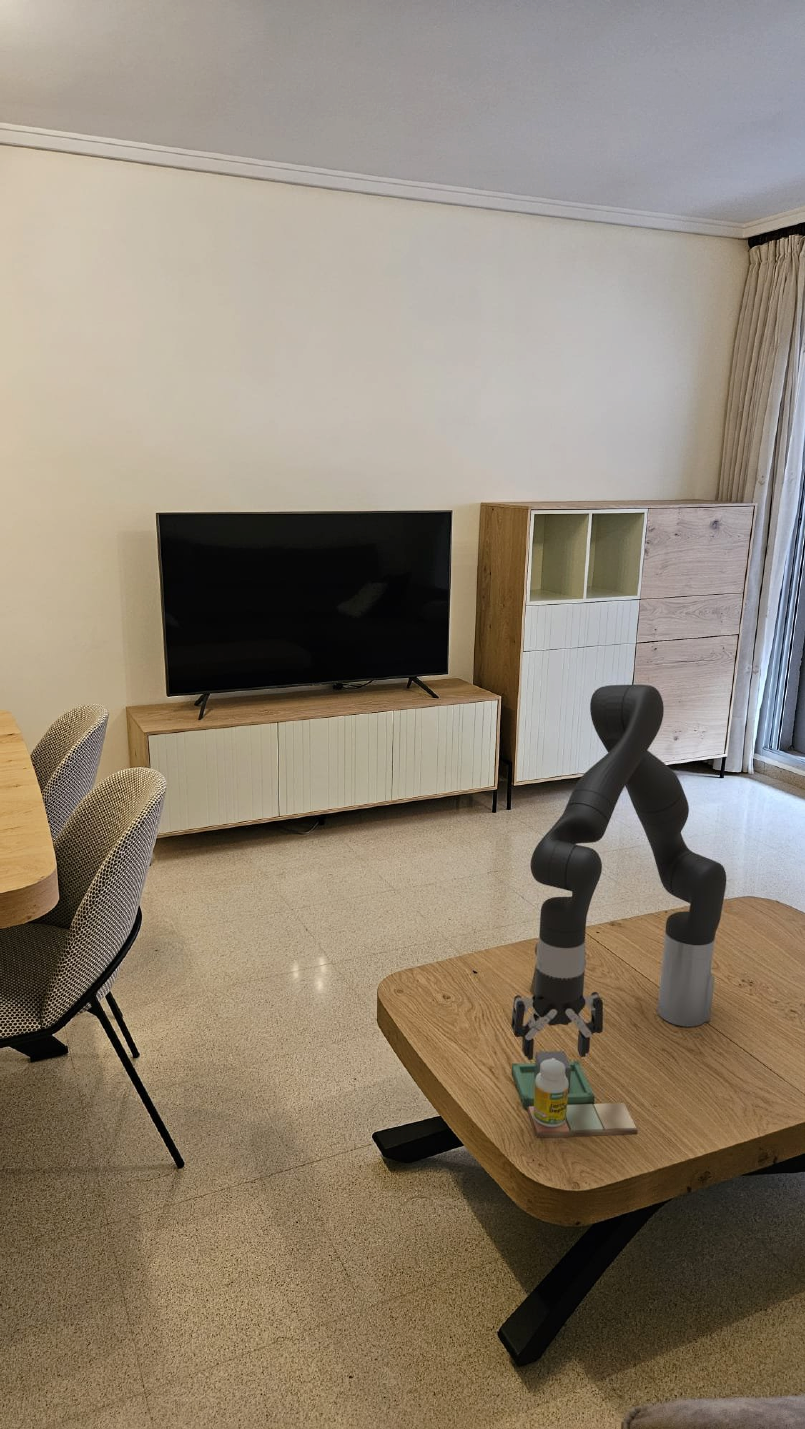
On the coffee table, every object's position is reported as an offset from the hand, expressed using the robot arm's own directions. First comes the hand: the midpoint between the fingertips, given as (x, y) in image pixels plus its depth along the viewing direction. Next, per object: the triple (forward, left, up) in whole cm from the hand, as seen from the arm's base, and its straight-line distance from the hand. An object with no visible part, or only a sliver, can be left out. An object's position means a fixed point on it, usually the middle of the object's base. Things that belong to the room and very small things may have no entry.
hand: (555, 1055), depth 157 cm
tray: (-2, -9, -12) cm, 16 cm away
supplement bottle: (0, 0, -12) cm, 12 cm away
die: (-2, -9, -12) cm, 15 cm away
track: (-5, 0, -12) cm, 13 cm away
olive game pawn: (-9, -41, -13) cm, 44 cm away
